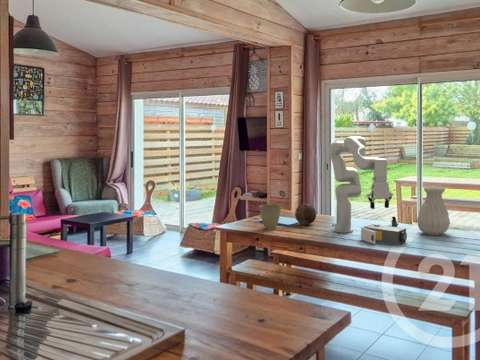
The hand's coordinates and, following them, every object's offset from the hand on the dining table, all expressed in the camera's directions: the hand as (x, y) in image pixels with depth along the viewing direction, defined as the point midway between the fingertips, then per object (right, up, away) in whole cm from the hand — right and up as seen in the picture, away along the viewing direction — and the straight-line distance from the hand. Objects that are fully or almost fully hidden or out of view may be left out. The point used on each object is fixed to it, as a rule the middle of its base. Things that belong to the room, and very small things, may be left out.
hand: (379, 208), depth 289 cm
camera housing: (+6, -20, +7) cm, 22 cm away
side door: (-6, -20, +4) cm, 22 cm away
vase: (+42, -18, +28) cm, 54 cm away
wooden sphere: (-36, -15, +59) cm, 71 cm away
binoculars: (+16, -18, +30) cm, 38 cm away
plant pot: (-62, -17, +44) cm, 78 cm away
